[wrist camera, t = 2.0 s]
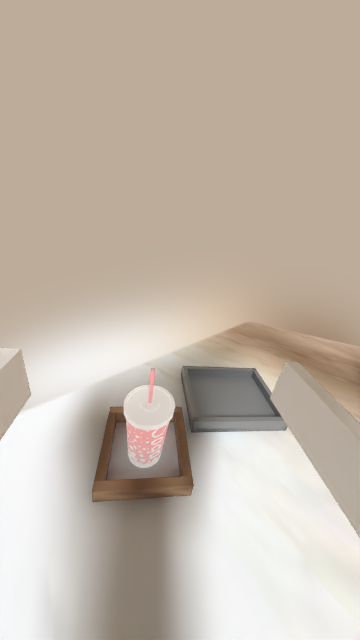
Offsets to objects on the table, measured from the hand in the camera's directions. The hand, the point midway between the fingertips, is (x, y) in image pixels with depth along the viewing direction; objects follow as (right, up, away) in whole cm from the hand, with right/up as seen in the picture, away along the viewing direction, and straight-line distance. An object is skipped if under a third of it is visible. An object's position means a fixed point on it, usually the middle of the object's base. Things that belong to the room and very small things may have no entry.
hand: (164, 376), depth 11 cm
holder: (-4, -15, +18) cm, 24 cm away
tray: (+10, -12, +28) cm, 32 cm away
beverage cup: (-4, -15, +18) cm, 24 cm away
